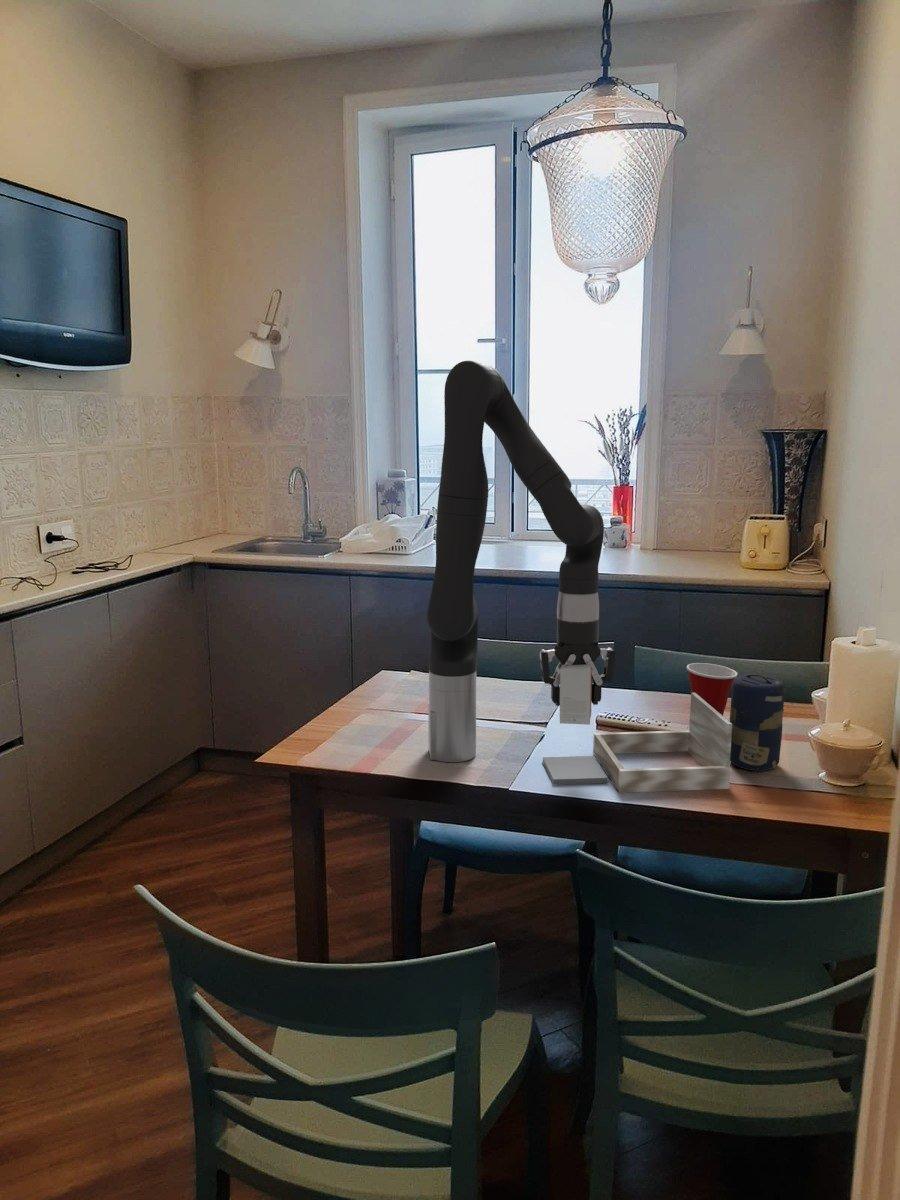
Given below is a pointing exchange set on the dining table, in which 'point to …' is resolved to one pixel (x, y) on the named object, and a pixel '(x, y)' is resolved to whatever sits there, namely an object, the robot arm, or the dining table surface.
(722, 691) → the plastic cup
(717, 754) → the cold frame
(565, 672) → the small box
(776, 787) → the dining table surface
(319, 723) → the dining table surface
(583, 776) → the slate tile
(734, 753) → the canister
